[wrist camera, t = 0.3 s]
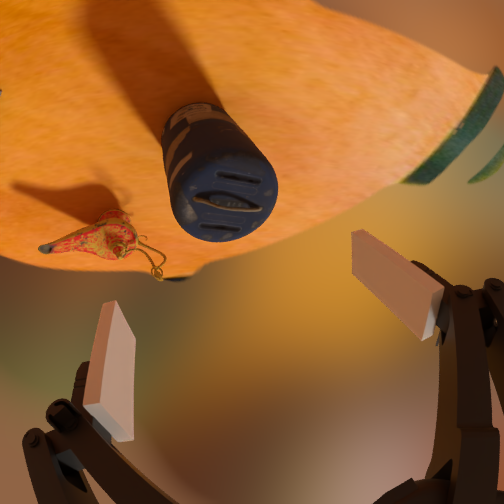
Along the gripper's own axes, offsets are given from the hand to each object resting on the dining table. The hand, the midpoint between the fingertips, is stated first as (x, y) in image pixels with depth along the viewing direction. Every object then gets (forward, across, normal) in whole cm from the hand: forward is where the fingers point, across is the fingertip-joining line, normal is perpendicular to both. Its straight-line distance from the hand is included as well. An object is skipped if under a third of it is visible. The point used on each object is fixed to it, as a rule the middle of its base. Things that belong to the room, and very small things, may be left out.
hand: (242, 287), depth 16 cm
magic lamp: (+30, -15, -2) cm, 33 cm away
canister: (+27, +2, +6) cm, 28 cm away
